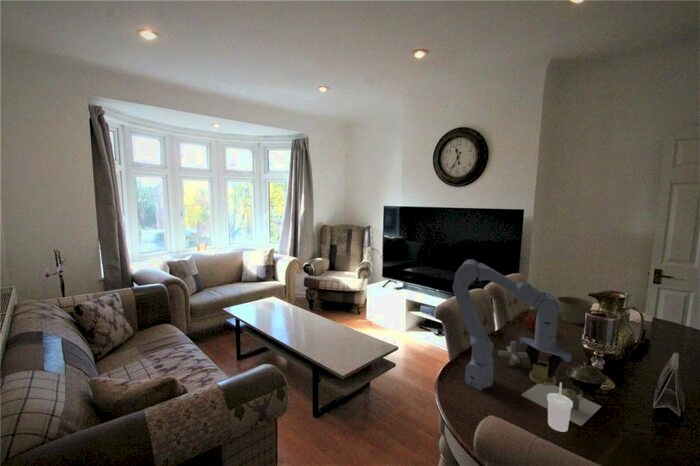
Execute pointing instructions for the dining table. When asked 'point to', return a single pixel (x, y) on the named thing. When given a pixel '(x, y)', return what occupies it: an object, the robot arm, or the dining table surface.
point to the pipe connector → (513, 353)
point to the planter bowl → (574, 309)
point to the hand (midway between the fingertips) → (542, 372)
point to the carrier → (580, 405)
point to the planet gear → (541, 374)
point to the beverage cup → (559, 410)
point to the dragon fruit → (530, 322)
